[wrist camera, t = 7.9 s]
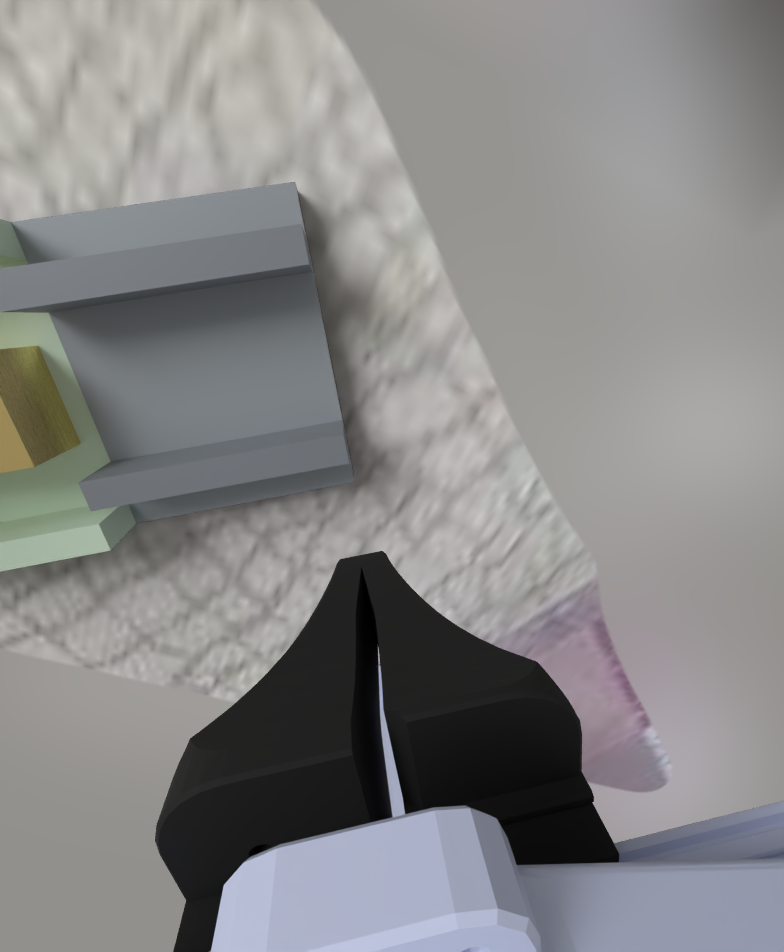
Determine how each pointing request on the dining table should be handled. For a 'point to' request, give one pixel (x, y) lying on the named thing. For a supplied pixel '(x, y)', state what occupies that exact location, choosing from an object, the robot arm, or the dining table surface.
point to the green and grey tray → (168, 365)
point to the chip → (30, 412)
